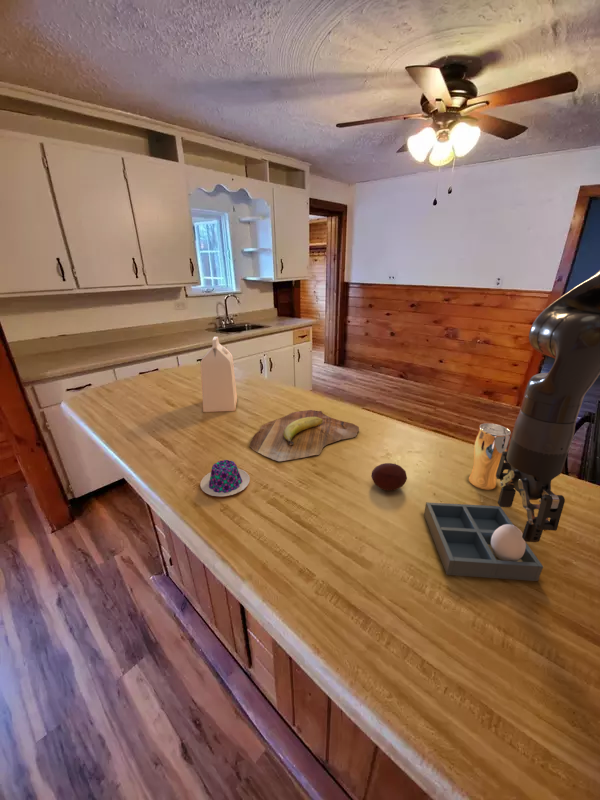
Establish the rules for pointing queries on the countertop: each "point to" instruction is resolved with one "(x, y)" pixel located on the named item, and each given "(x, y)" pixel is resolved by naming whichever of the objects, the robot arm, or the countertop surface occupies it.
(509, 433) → the beer glass
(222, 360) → the milk
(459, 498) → the countertop surface
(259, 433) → the cutting board
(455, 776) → the countertop surface
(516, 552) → the egg
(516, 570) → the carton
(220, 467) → the pudding
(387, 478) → the potato
